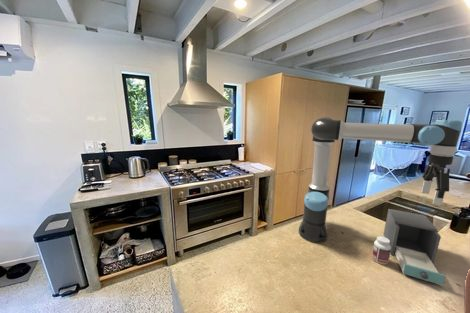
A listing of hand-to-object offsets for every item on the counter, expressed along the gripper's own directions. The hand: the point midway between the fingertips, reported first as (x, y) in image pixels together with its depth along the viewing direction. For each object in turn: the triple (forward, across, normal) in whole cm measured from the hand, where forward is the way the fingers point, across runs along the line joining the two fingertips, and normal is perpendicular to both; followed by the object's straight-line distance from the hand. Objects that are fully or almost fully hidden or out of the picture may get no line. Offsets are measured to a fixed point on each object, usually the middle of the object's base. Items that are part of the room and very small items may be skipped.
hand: (430, 198), depth 90 cm
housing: (+28, -3, +6) cm, 28 cm away
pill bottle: (+28, -19, +19) cm, 38 cm away
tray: (+26, -17, +6) cm, 32 cm away
